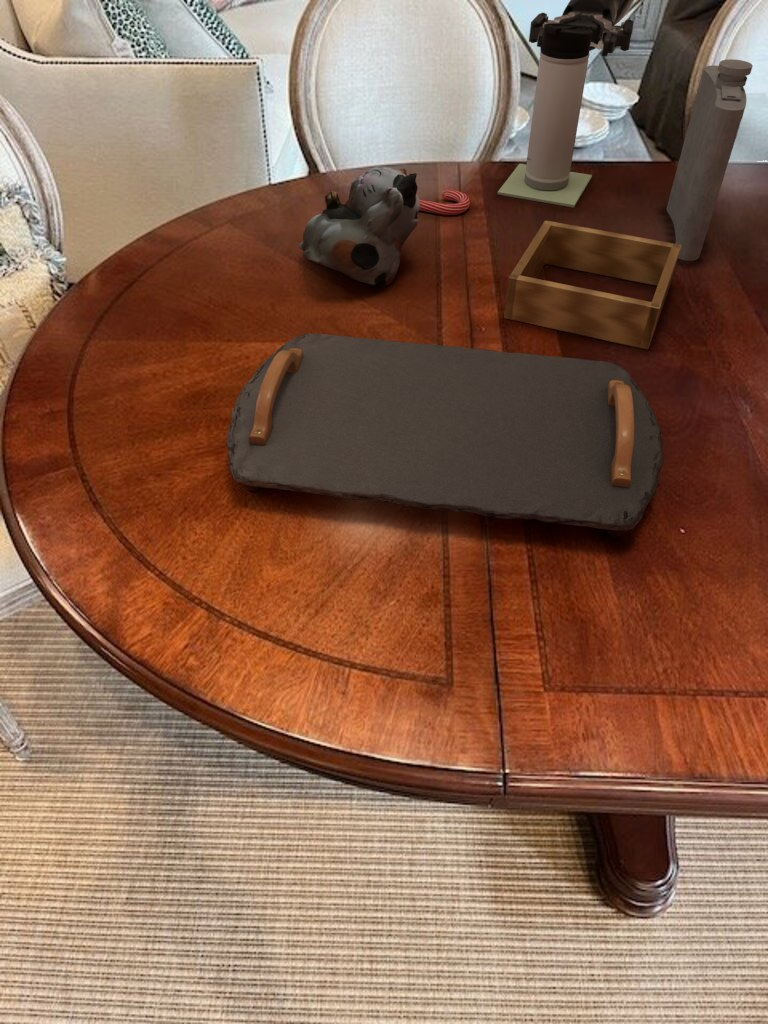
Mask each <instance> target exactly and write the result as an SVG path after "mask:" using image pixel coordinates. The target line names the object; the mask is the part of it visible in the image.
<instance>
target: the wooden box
mask: <svg viewBox="0 0 768 1024" xmlns="http://www.w3.org/2000/svg"><path fill="white" fill-rule="evenodd" d="M681 246H682V245H679V244H675V243H673V242H667V241H663V240H656V239H650V238H645V237H640V236H634V235H628V234H623V233H618V232H613V231H607V230H601V229H597V228H596V229H595V228H591V227H584V226H578V225H573V224H568V223H562V222H556V221H551V220H544V221H543V223H542V224H541V226H540V228H539V229H538V231H537V232H536V234H535V235H534V237H533V238H532V240H531V242H530V243H529V245H528V247H527V248H526V250H525V252H524V253H523V255H522V256H521V258H520V259H519V261H518V263H517V264H516V266H515V267H514V269H513V270H512V272H511V273H510V275H509V276H508V281H507V287H506V297H505V306H504V314H503V318H504V319H506V320H510V321H516V322H520V323H525V324H530V325H534V326H539V327H542V328H547V329H550V330H551V329H552V330H556V331H561V332H565V333H571V334H575V335H579V336H584V337H588V338H592V339H597V340H602V341H607V342H611V343H616V344H620V345H625V346H629V347H633V348H639V349H642V350H649V349H650V346H651V344H652V343H651V342H652V340H653V338H654V335H655V332H656V328H657V325H658V323H659V319H660V317H661V313H662V311H663V308H664V305H665V301H666V299H667V297H668V294H669V290H670V288H671V284H672V281H673V277H674V274H675V271H676V267H677V263H678V260H679V259H678V257H679V253H680V250H681ZM545 265H550V266H554V267H559V268H564V269H569V270H574V271H580V272H585V273H591V274H595V275H601V276H604V277H605V276H606V277H611V278H616V279H621V280H624V281H625V280H626V281H631V282H636V283H640V284H647V285H651V286H656V289H655V291H654V294H653V297H652V300H651V301H648V300H644V299H638V298H633V297H629V296H625V295H618V294H614V293H609V292H604V291H600V290H594V289H589V288H584V287H580V286H574V285H569V284H566V283H565V284H564V283H559V282H554V281H550V280H546V279H545V280H544V279H540V278H538V276H539V275H540V273H541V272H542V270H543V268H544V266H545Z"/></svg>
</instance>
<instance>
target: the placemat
mask: <svg viewBox="0 0 768 1024" xmlns="http://www.w3.org/2000/svg"><path fill="white" fill-rule="evenodd" d="M525 171H526V164H525V163H519V164H517V166H516V167H515V168H514V170H513V171H512V172H511V174H510V175H509V176H508V178H507V179H506V180H505V182H504V183H503V184H502V186H501V187H500V188H499V189H498V191H497V194H496V195H497V196H504V197H510V198H516V199H520V200H521V199H522V200H525V201H526V200H527V201H533V202H538V203H545V204H549V205H556V206H561V207H568V208H575V207H576V205H577V203H578V202H579V200H580V198H581V196H582V195H583V193H584V192H585V190H586V188H587V187H588V185H589V183H590V181H591V180H592V178H593V175H592V174H588V173H580V172H575V171H570V175H569V181H568V184H567V186H565V187H564V188H562V189H559V190H553V191H544V190H538V189H535V188H532V187H530V186H529V185H527V184H526V183H525V180H524V179H525Z"/></svg>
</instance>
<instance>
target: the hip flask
mask: <svg viewBox="0 0 768 1024" xmlns="http://www.w3.org/2000/svg"><path fill="white" fill-rule="evenodd" d="M753 67H754V65H753V64H752V63H751V62H749V61H746V60H741V59H733V58H731V59H723V60H720V61H719V63H718V65H712V64H711V65H706V66H704V67H703V69H702V73H701V77H700V79H699V84H698V88H697V92H696V96H695V99H694V104H693V107H692V110H691V114H690V117H689V118H690V119H689V122H688V126H687V130H686V133H685V137H684V140H683V145H682V148H681V152H680V156H679V160H678V164H677V168H676V172H675V175H674V179H673V183H672V186H671V189H670V194H669V198H668V202H667V205H666V212H667V213H668V215H669V217H670V220H671V222H672V225H673V228H674V235H675V243H674V244H679V245H682V246H681V250H680V253H679V257H678V260H681V261H685V262H694V261H697V260H699V258H700V256H701V252H702V250H703V247H704V243H705V240H706V237H707V233H708V230H709V227H710V223H711V221H712V218H713V214H714V210H715V208H716V204H717V200H718V197H719V194H720V191H721V188H722V184H723V181H724V178H725V175H726V172H727V168H728V165H729V162H730V158H731V155H732V153H733V149H734V145H735V142H736V140H737V139H736V138H737V135H738V133H739V129H740V126H741V122H742V120H743V117H744V114H745V109H746V106H747V94H746V90H745V86H746V84H747V80H748V77H747V76H749V75H751V74H752V73H751V72H752V70H753Z"/></svg>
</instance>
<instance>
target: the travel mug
mask: <svg viewBox="0 0 768 1024" xmlns="http://www.w3.org/2000/svg"><path fill="white" fill-rule="evenodd" d="M592 33H593V32H592V30H589V29H587V30H584V29H580V28H577V26H575V25H569V24H559V23H548V24H545V25H544V30H543V38H542V46H541V51H540V52H539V59H538V67H537V74H536V83H535V91H534V99H533V108H532V115H531V124H530V131H529V140H528V147H527V156H526V171H525V179H524V180H525V183H526V184H527V185H529V186H530V187H532V188H535V189H538V190H544V191H553V190H559V189H562V188H564V187H565V186H567V184H568V181H569V175H570V172H571V168H572V162H573V157H574V156H573V155H574V150H575V144H576V140H577V131H578V128H579V127H578V126H579V122H580V121H579V120H580V114H581V108H582V101H583V97H584V91H585V85H586V78H587V73H588V72H587V71H588V66H589V58H590V52H591V51H590V47H589V46H590V45H591V39H592Z"/></svg>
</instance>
